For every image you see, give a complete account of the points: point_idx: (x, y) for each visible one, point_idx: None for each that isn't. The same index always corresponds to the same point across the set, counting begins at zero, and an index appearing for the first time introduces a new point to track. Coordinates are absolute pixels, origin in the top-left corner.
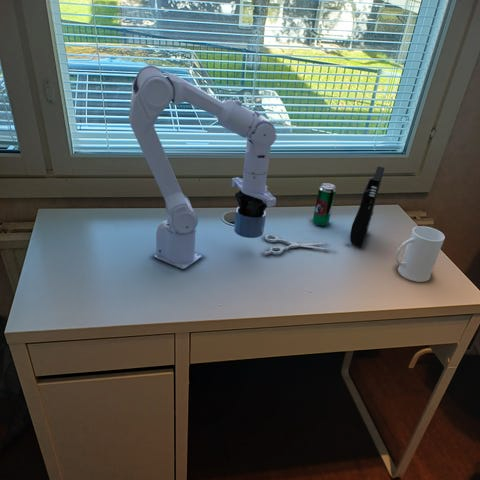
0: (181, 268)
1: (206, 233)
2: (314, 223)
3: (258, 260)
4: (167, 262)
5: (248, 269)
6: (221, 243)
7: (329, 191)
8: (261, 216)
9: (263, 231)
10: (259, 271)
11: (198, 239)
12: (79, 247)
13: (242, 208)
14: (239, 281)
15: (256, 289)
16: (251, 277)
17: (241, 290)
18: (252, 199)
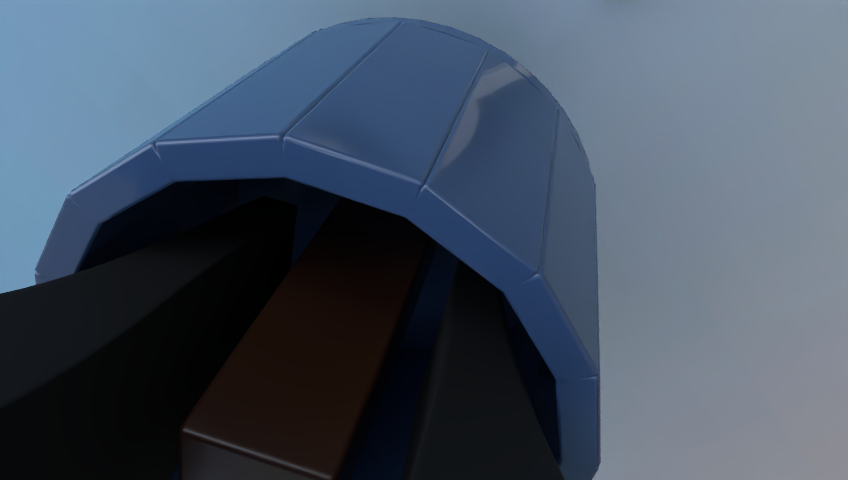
0: None
1: (11, 36)
2: None
3: (603, 100)
4: None
5: (609, 266)
6: (201, 85)
7: None
8: (571, 470)
9: (580, 150)
10: (700, 240)
11: (74, 157)
12: None
13: (174, 470)
14: (638, 407)
15: (787, 424)
16: (685, 336)
17: (701, 469)
18: (60, 425)
